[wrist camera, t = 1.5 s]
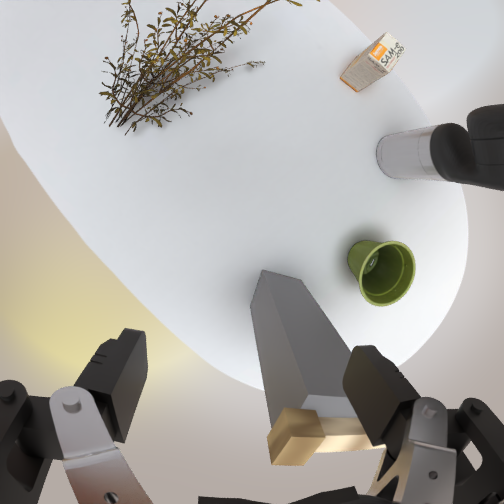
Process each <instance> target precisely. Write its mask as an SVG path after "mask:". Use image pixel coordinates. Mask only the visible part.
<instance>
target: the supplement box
mask: <svg viewBox="0 0 504 504" xmlns="http://www.w3.org/2000/svg"><path fill="white" fill-rule="evenodd" d="M405 50H406V49H405V48H404V47H403V46H402V45H401V44H400V43H399V42H398V41H397V40H396V39H395V38H393V37H392V36H391V35H390V34H389V33H387V32H386V33H385V34H383V35H382V36H381V37H380V38H378V39H377V40H376V41H375V42H374V43H372V44H371V45H370V46H369V47H368V48H367V49H365V50H364V51H363V52H362V53H361V54H359V55H358V56H357V57H356V58H355V59H354V61H353V62H352V63H351V64H350V65H349V67H348V68H347V69H346V71H345V72H344V73H343V75H342V76H341V77H340V79H341V80H343V81H344V82H345V83H346V84H348V85H349V86H350V87H351V88H352V89H354V90H355V91H356V92H358V91H360V90H362V89H363V88H365V87H366V86H368V85H370V84H371V83H373V82H375V81H376V80H378V79H380V78H381V77H383V76H385V75H386V74H388V73H390V71H391V70H392V68H393V67H394V66H395V64H396V63H397V61H398V60H399V58H400V57H401V55H402V54H403V53H404V51H405Z"/></svg>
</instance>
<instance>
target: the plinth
mask: <svg viewBox="0 0 504 504" xmlns="http://www.w3.org/2000/svg"><path fill="white" fill-rule="evenodd" d="M250 309H251V315H252V321H253V327H254V333H255V338H256V344H257V350H258V356H259V361H260V367H261V373H262V378H263V384H264V389H265V395H266V401H267V406H268V412H269V417H270V423H271V428H273V426H274V424H275V423H276V421H277V419H278V417H279V416H280V414H281V412H282V410H283V408H284V407H285V408H295V409H307V410H316V412H317V415H318V417H331V418H358V417H357V415H356V413H355V411H354V409H353V407H352V405H351V403H350V401H349V399H348V398H347V396H346V394H345V392H344V390H343V385H342V381H343V376H344V373H345V370H346V367H347V365H348V362H349V359H350V356H351V351H350V350H349V348H348V347H347V345H346V344H345V342H344V341H343V340H342V338H341V337H340V335H339V334H338V332H337V331H336V329H335V328H334V326H333V325H332V324H331V322H330V321H329V319H328V318H327V316H326V315H325V313H324V312H323V311H322V309H321V308H320V306H319V305H318V303H317V302H316V301H315V299H314V298H313V296H312V295H311V293H310V292H309V291H308V289H307V288H306V286H305V285H304V284H303V282H302V281H301V280H299V279H295V278H292V277H288V276H284V275H280V274H277V273H273V272H269V271H266V270H262V273H261V276H260V279H259V282H258V285H257V287H256V290H255V293H254V296H253V299H252V302H251V305H250Z"/></svg>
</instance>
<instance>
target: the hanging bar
mask: <svg viewBox="0 0 504 504" xmlns="http://www.w3.org/2000/svg"><path fill="white" fill-rule="evenodd" d="M267 441H268V447H269V453H270V459H271V464H272V465H288V466H289V465H290V466H296V465H297V466H303V465H304V464H305V463H306V462H307V461H308V459H309V458H310V457H311V456H312V455H313V453H314V452H340V451H355V450H365V449H375V448H383V447H386V445H385V444H383V445H379V446H375V447H373V446H372V444H371V442H370V440H369V438H368V436H367V434H366V432H365V430H364V428H363V427H362V425H361V423H360V421H359V419H358V418H331V417H318V415H317V412H316V410H307V409H295V408H285V407H284V408H283V410H282V412H281V414H280V416H279V417H278V419H277V421H276V423H275V424H274V426H273V428H272V430H271V431H270V433H269V435H268V436H267Z"/></svg>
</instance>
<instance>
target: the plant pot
mask: <svg viewBox="0 0 504 504" xmlns="http://www.w3.org/2000/svg"><path fill="white" fill-rule="evenodd" d="M373 259H374V260H375V261H374V263H373V265H372V266H371V265H370V264H371V263H372V261H373ZM348 265H349V267H350V269H351V271H352V272H353V274H354V275H355V277H356V279H357V280H358V282H359V287H360V291H361V294H362V295H363V297H364V298H365V300H366V301H367V302H369V303H370V304H372V305H375V306H388V305H391V304H393V303H395V302H397V301H398V300H400V299H401V298H402V297H403V296H404V295H405V294H406V293H407V291H408V290H409V288H410V286H411V284H412V282H413V280H414V276H415V259H414V256H413V253H412V251H411V250H410V249H409V247H408V246H406V245H405V244H403V243H401V242H398V241H388V242H385V243H379V242H373V241H361V242H358V243H356V244H355V245H354V246H353V247H352V248H351V250H350V252H349V254H348Z"/></svg>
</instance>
